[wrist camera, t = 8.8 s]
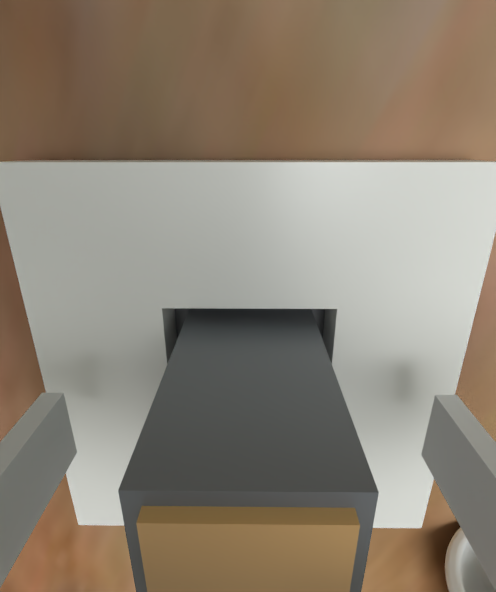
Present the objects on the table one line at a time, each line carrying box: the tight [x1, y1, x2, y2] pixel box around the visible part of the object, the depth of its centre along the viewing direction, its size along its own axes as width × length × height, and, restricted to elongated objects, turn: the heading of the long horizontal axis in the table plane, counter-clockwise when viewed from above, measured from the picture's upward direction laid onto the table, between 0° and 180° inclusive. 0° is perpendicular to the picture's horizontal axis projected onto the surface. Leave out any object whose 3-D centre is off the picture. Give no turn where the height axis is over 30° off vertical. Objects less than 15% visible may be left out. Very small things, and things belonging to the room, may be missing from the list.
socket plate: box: [0, 160, 496, 528], centre depth 17 cm, size 18×18×3 cm
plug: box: [118, 308, 379, 592], centre depth 13 cm, size 6×6×10 cm
